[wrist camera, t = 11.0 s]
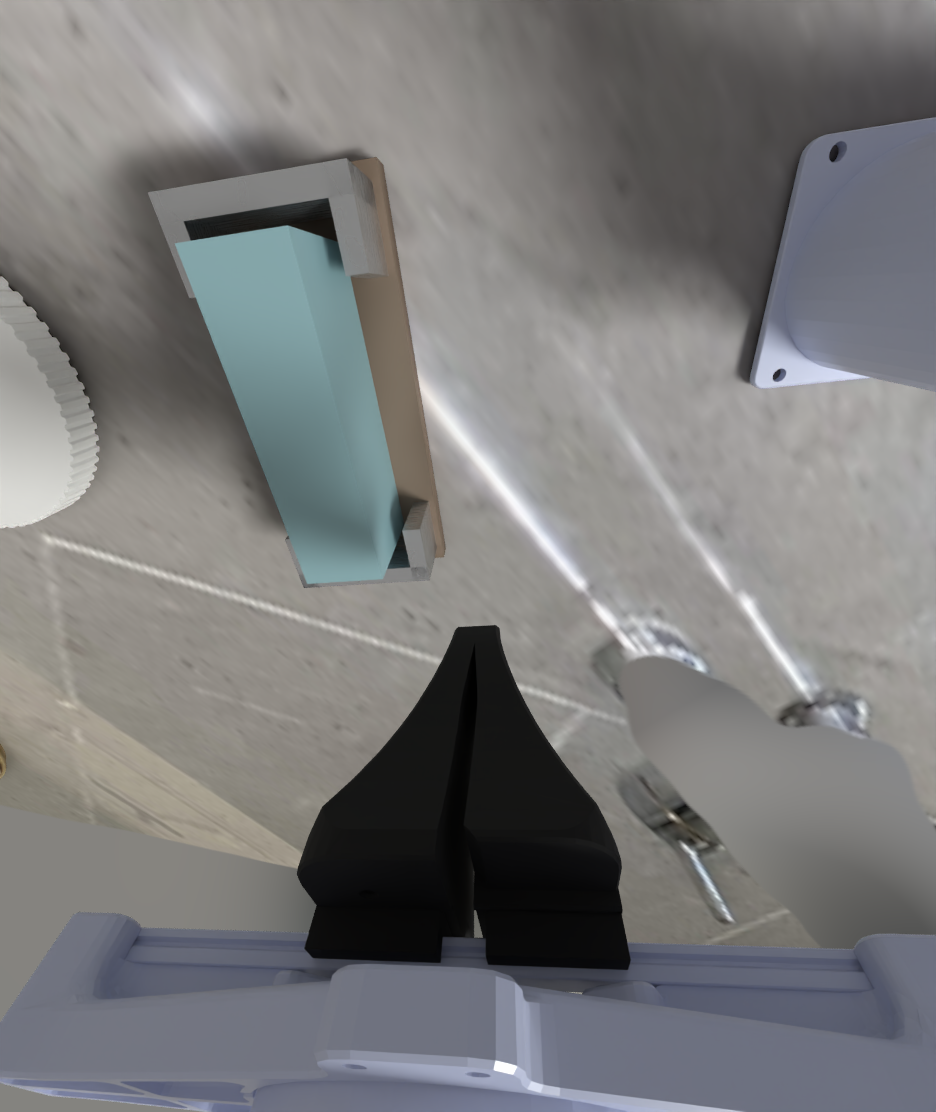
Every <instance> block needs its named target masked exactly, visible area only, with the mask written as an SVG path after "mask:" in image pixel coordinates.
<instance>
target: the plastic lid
mask: <svg viewBox="0 0 936 1112" xmlns="http://www.w3.org/2000/svg"><path fill="white" fill-rule="evenodd" d="M36 314H37V313H36V311H35V310H34V309H33V308H32V307H28V306H27V305H26V304H25V303H24V302H23V297H22V296H21V295H20V294H19V293H18V292H17V291H12V290H11V289H10V288H9V286H8V282H7V281H6V280H5V279H4V278H3V277H2V276H0V528H5V527H7V526H8V527H10V528H14V527H16V526H18V525H19V526H20V527H21V526H25V525H27V524H33V523H35V522H37V521H40V520H42V519H44V518H46V517H48V516H50V515H52V514H54V513H56V512H58V511H60V510H62V509H64V508H66V507H68V506H70V505H72V504H73V503H74V502H75V501H77V500H79V499H80V498H81V497H80V496H81V495H83V494H85V492H86V490H85V489H86V488H88V487H90V485H91V484H90V483H89V481H91V480H93V479H94V477H95V476H94V475H93V474H92V473H93V472H95V471H97V467H96V466H95V465H94V464H95V463H96V462H98V461H99V457H97V456H96V452H99V446H97V445H96V441H98V440H99V436H98V435H97V434H95V430H94V429H97V424H96V423H95V422H93V420H92V417H93V416H94V412H93V410H91V409H90V408H89V406H88V403H90V400H89V397H88V396H85V395H84V392H83V389H85V387H84V385H83V383H82V382H79V381H78V379H77V377H76V375H78V373H77V371H76V369H75V368H73V367H71V366H70V364H69V362H68V361H69V360H70V358H69V357H68V355H67V354H66V353H64V352H62V351H61V349H60V348H59V345H60V343H59V341H58V340H57V338H55V337H52V336H51V335H50V334H49V332H48V330H49V327H48V326H47V325H46V324H45V322H40V321H39V319H38V318H37V317H36Z"/></svg>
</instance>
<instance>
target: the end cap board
mask: <svg viewBox="0 0 936 1112" xmlns="http://www.w3.org/2000/svg"><path fill="white" fill-rule="evenodd" d="M351 162H352V163H353V164H354V165H355V166H356V167H357V168H358V169H359V170H360V171H361V172H362V173H364V174H365V175H366V176H367V177H368V178H369V179H370V180H371V181H372V183H373V189H374V195H375V200H376V206H377V212H378V217H379V223H380V229H381V234H382V240H383V246H384V251H385V257H386V263H387V268H388V274H389V276H386V277H379V278H372V279H366V278H357V277H351V282H352V287H353V291H354V296H355V300H356V305H357V309H358V314H359V319H360V323H361V328H362V332H363V337H364V342H365V346H366V351H367V355H368V360H369V364H370V369H371V374H372V378H373V383H374V387H375V392H376V397H377V401H378V406H379V410H380V415H381V420H382V424H383V429H384V433H385V438H386V442H387V447H388V452H389V456H390V461H391V465H392V470H393V475H394V479H395V484H396V488H397V493H398V497H399V502H400V507H401V511H402V516H403V520H404V525H405V523H406V520H407V517H408V515H409V512H410V510H411V507H412V505H413V503H415V502H427V501H429V506H430V512H431V518H432V523H433V529H434V535H435V540H436V546H437V550H436V554H435V558H438V557H444V554H445V549H446V547H445V541H444V535H443V528H442V522H441V516H440V510H439V504H438V498H437V492H436V486H435V479H434V473H433V467H432V461H431V455H430V449H429V443H428V437H427V431H426V424H425V418H424V412H423V406H422V400H421V394H420V388H419V382H418V375H417V369H416V363H415V357H414V351H413V345H412V339H411V333H410V326H409V320H408V314H407V308H406V302H405V296H404V290H403V284H402V277H401V271H400V265H399V259H398V253H397V247H396V241H395V235H394V228H393V222H392V216H391V210H390V204H389V198H388V192H387V186H386V180H385V173H384V167H383V164H382V163H381V162H380V161H379V159H378V158H377V157H374V158H369V159H363V160H357V161H351ZM287 225H288V226H291V227H294V228H297V229H300V230H303V231H306V232H309V233H312V234H315V235H318V236H321V237H324V238H327V239H330V240H333V241H336V242H338V239H337V234H336V230H335V225H334V221H333V217H332V218H325V219H319V220H313V221H306V222H300V223H294V224H287ZM287 225H281V226H287ZM281 226H275V227H281ZM268 228H274V227H268ZM268 228H262V229H268ZM262 229H256V230H262ZM249 231H255V230H249ZM249 231H243V232H249ZM243 232H237V233H243ZM237 233H234V234H237ZM403 528H404V527H403ZM402 530H403V529H402ZM399 538H404V536H403V532H401V534H400V537H399Z"/></svg>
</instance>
